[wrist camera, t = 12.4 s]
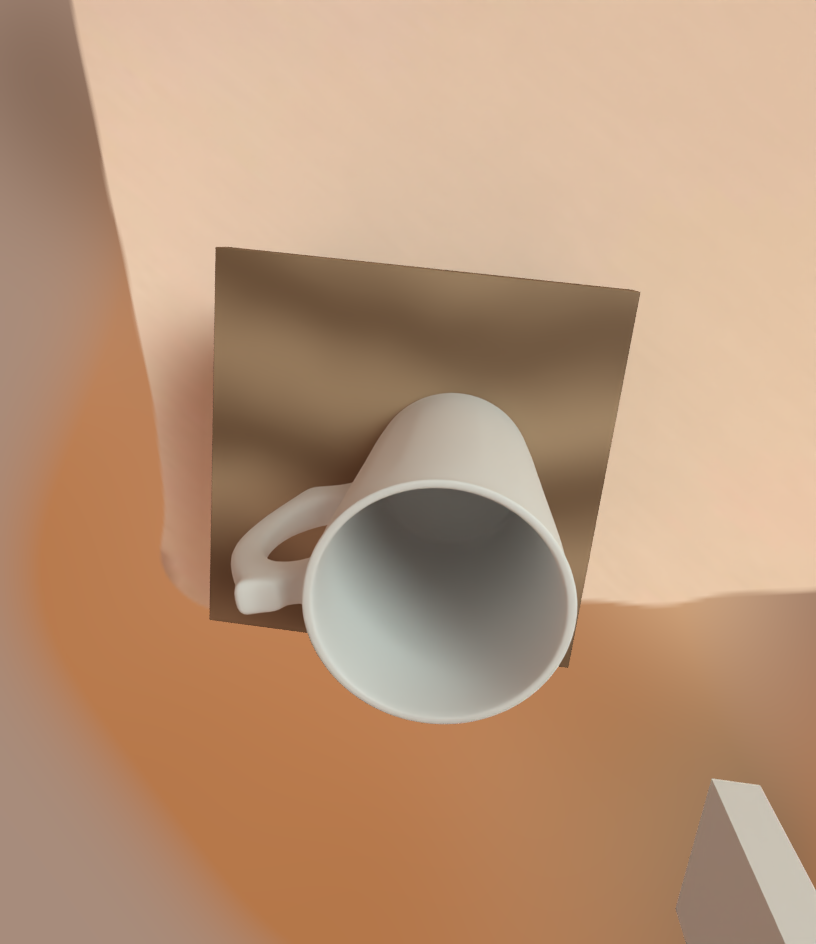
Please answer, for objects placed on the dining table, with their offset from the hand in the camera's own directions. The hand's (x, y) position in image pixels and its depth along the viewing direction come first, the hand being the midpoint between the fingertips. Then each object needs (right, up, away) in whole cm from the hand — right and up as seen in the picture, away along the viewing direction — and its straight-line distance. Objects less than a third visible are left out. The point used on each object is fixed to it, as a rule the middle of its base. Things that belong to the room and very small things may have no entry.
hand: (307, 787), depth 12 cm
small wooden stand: (+2, +8, +27) cm, 29 cm away
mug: (+2, +5, +17) cm, 18 cm away
